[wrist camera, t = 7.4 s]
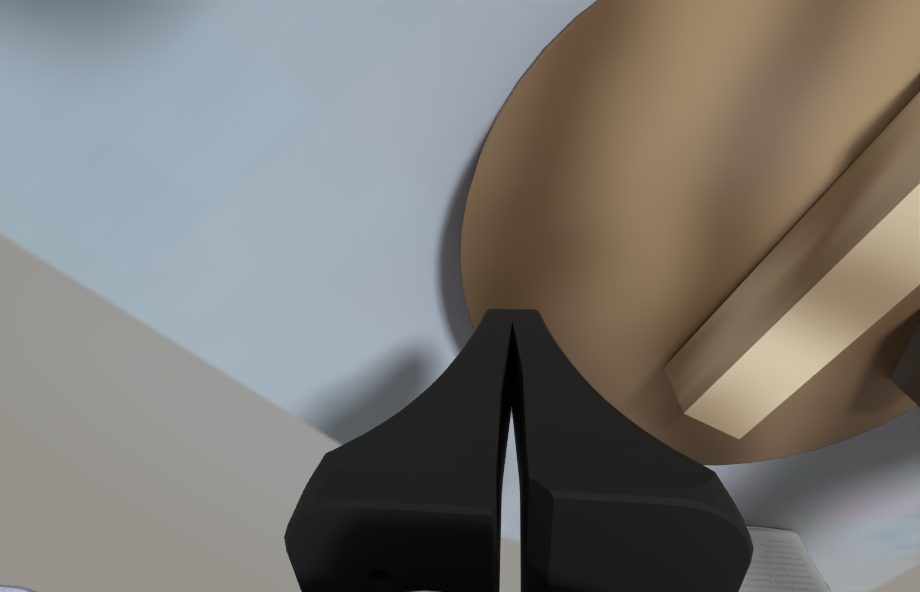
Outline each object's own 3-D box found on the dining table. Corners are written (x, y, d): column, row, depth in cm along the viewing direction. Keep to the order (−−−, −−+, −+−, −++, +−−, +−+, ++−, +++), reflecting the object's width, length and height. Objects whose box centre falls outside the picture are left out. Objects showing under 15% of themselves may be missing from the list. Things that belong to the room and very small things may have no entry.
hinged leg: (1002, -14, 12) (1126, -26, 10) (1086, 44, 12) (1226, 46, 10) (657, 364, 19) (678, 413, 16) (718, 394, 19) (748, 446, 17)
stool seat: (1190, -106, 13) (1484, -168, 9) (892, 435, 22) (969, 518, 18) (454, -52, 15) (432, -81, 11) (473, 418, 25) (466, 489, 21)
